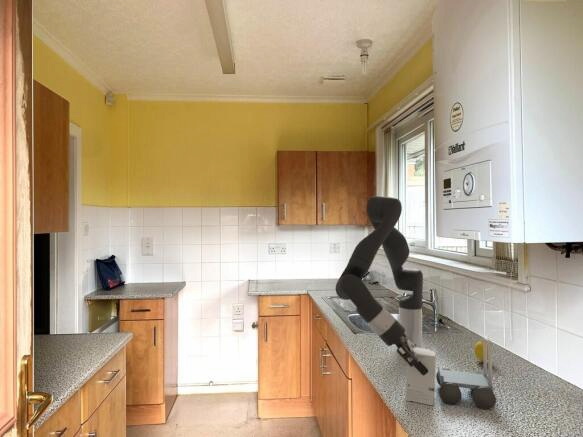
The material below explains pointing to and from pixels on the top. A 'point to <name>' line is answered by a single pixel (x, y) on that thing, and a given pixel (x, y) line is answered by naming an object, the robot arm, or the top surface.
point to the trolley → (469, 382)
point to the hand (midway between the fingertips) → (425, 367)
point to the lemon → (480, 350)
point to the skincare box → (421, 378)
